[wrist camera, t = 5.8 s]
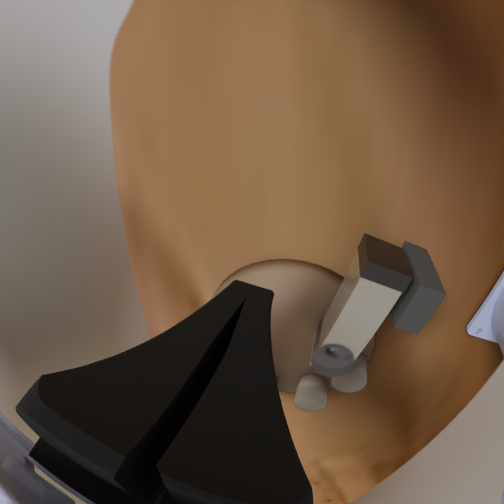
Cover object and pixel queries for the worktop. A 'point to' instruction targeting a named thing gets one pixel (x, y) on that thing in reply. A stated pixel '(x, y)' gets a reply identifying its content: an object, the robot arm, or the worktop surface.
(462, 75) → the worktop surface
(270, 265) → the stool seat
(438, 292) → the block
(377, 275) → the hinged leg
